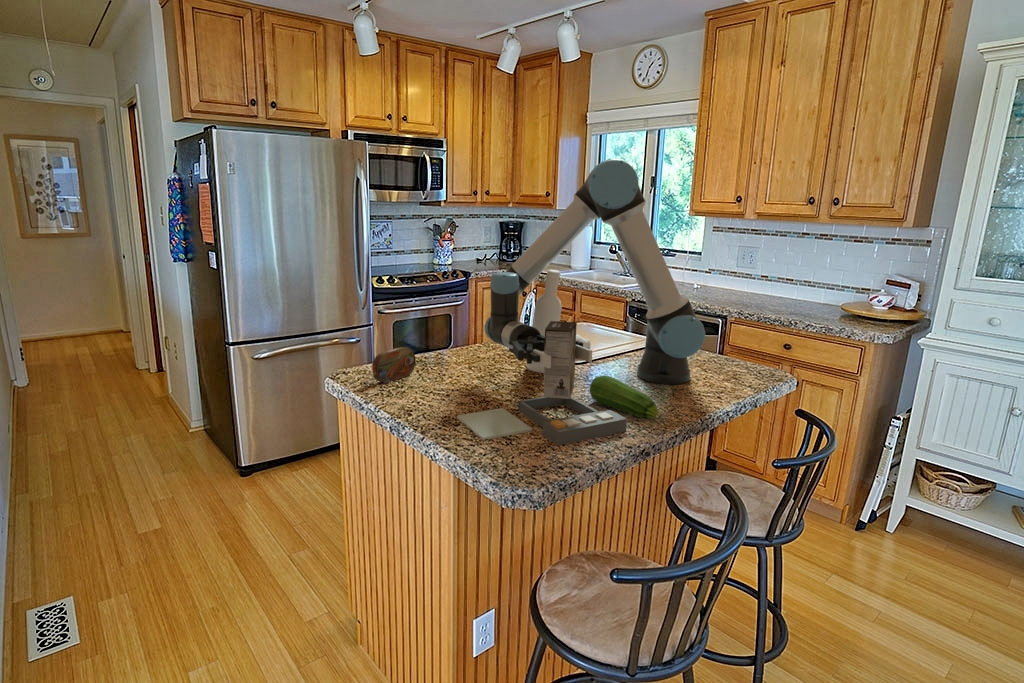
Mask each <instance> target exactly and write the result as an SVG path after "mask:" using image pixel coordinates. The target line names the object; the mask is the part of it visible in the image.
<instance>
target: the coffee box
mask: <svg viewBox="0 0 1024 683" xmlns="http://www.w3.org/2000/svg"><path fill="white" fill-rule="evenodd" d="M577 325H578V324H577V321H560V322H559V321H550V323H549V324H548V326H547V327H546V329H545V350H544V353H545V354H548V355H550V356H551V368H546V367H544V373H543V396H542V397H549V398H562V399H570V397H572V394H573V392H574V389H575V378H576V376H575V375H576V374H575V372H576V357H575V351H576V335H577Z"/></svg>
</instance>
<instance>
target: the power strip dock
mask: <svg viewBox="0 0 1024 683" xmlns="http://www.w3.org/2000/svg"><path fill="white" fill-rule="evenodd" d="M561 405H565V406H566V407H568V408H570V409H572V410H573V411H574V412H575V411H576V412H577V413H578V414H577V415H571V416H566V417H565V416H564V417H560V418H559V417H558V418H556V419H551V418H549V417H548V416H546V415H545V414H543V413H541V412H540V411H538V409H544V408H550V407H556V406H561ZM517 412H519V413H520V414H522V415H524V416H525V417H526V418H527V419H529V420H531V421H532V422H533V423H535V424H537V425H538V426H540V427H542V428H543V430H542V435H543V436H544V437H545V438H546V439H548V440H549V441H550V442H552V443H553V444H555V445H557V446H558V445H559V446H563V444H564V445H567V444H568V443H569V444H573V443H577V441H578V442H582V440H583V441H588V440H591V439H597V438H602V437H605V436H611V435H614V434H615V433H616V434H619V433H625V432H627V426H628V418H627V417H625V416H622V415H621V414H619V413H617V412H615V411H614V410H611V409H607V410H602V411H599V410H597V409H595V408H593V407H591V406H589V405H587V404H586V403H584V402H583V401H580V400H579V399H577V398H575V397H573V396H571V397H570V399H562V398H549V397H543V396H540V397H534V398H528V399H522V400H517ZM624 431H625V432H624ZM587 439H588V440H587Z"/></svg>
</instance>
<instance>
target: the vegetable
mask: <svg viewBox="0 0 1024 683" xmlns="http://www.w3.org/2000/svg"><path fill="white" fill-rule="evenodd" d="M589 393H590V396H591V398H592V400H594V401H595V402H597V403H598V404H599V405H602V406H604V407H608V408H610V409H611V408H612V409H614V410H619V411H622V412H626V413H629V414H631V415H633V416H635V417H637V418H640V419H642V418H644V419H643V420H646V419H655V418H657V416H658V415H659V413H660V412H659V409H658V408H657V406H656V403H655V401H654V400H653V398H651V397H650V396H648V395H647V394H646V393H643V392H641V391H640V390H637V389H635V388H634V387H631V386H630V385H628V384H626V383H624V382H622V381H621V380H619V379H617V378H614V377H612V376H610V375H599V376H596V377H594V378H593V379H592V381H591V383H590V385H589Z"/></svg>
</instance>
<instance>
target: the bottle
mask: <svg viewBox="0 0 1024 683" xmlns="http://www.w3.org/2000/svg"><path fill="white" fill-rule="evenodd" d="M545 276H546V277H545V278H546V279H545V285H544V292H543V293H542V294H541V295H540V296H539V297H538V298H537V300H536V302H535V304H534V311H533V318H532V325H531V326H532V327H534V328H536V329H537V330H538V331H539V332H540V334H541V335H542V336H544V337H545V329H546V327H547V326H548V324H549V323H550V321H559V322H561V314H562V308H563V307H562V301H561V299H560V297H558V287H559V283H560V282H559V281H560V278H561V271H559V270H557V269H556V270H555V269H548V270H547V272H546V274H545ZM542 352H543V353H544V351H542ZM526 368H527V370H530V371H531V372H534V373H537V374H538V373H541V374H544V366H542V365H540V364H538V363H536V362H534V361H532V364H527V363H526Z"/></svg>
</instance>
